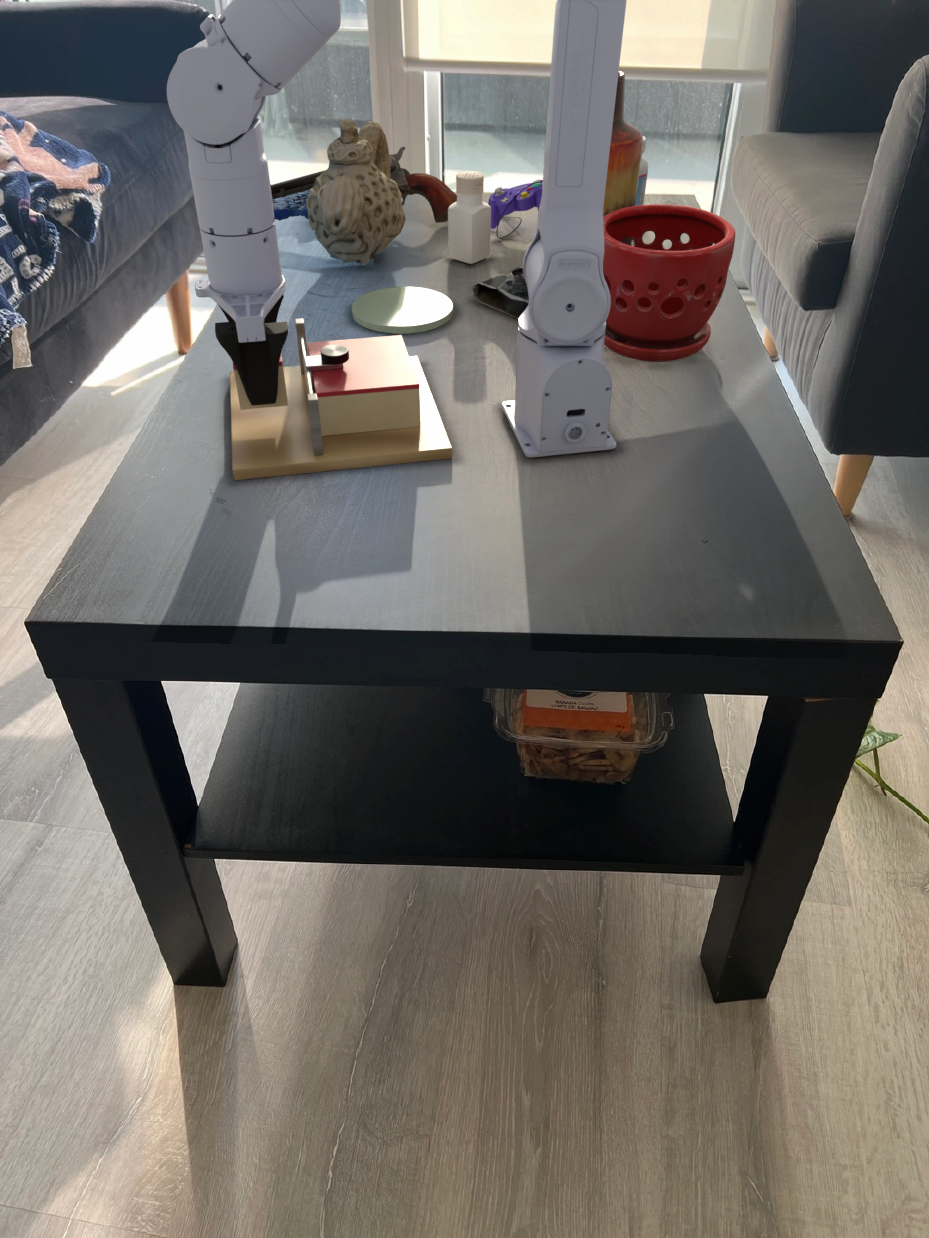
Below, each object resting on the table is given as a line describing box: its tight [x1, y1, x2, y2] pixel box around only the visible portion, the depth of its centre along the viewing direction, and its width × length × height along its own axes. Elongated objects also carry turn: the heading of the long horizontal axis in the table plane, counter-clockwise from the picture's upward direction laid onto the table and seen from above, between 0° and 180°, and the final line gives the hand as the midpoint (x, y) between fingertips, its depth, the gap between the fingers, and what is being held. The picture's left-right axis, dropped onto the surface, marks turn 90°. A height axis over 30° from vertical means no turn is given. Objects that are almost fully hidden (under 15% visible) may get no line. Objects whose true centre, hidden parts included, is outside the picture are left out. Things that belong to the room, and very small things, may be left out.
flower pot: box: [603, 203, 736, 363], centre depth 91 cm, size 13×13×12 cm
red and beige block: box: [306, 334, 421, 436], centre depth 82 cm, size 10×9×4 cm
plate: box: [351, 286, 454, 335], centre depth 101 cm, size 11×11×1 cm
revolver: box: [270, 146, 457, 224], centre depth 123 cm, size 26×4×12 cm
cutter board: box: [229, 318, 453, 481], centre depth 81 cm, size 18×18×6 cm
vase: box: [543, 70, 644, 246], centre depth 106 cm, size 11×11×20 cm
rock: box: [272, 189, 311, 222], centre depth 127 cm, size 15×17×2 cm
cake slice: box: [232, 352, 288, 410], centre depth 79 cm, size 5×4×4 cm
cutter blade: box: [301, 338, 349, 394], centre depth 81 cm, size 11×4×5 cm, turn 12°
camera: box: [472, 267, 529, 320], centre depth 101 cm, size 5×10×4 cm, turn 42°
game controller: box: [487, 179, 543, 240], centre depth 120 cm, size 10×8×10 cm
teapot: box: [306, 118, 407, 266], centre depth 109 cm, size 21×12×15 cm, turn 170°
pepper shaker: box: [447, 171, 492, 265], centre depth 111 cm, size 4×4×10 cm
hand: (262, 387), depth 80 cm, fingers closed on cake slice, 5 cm apart
